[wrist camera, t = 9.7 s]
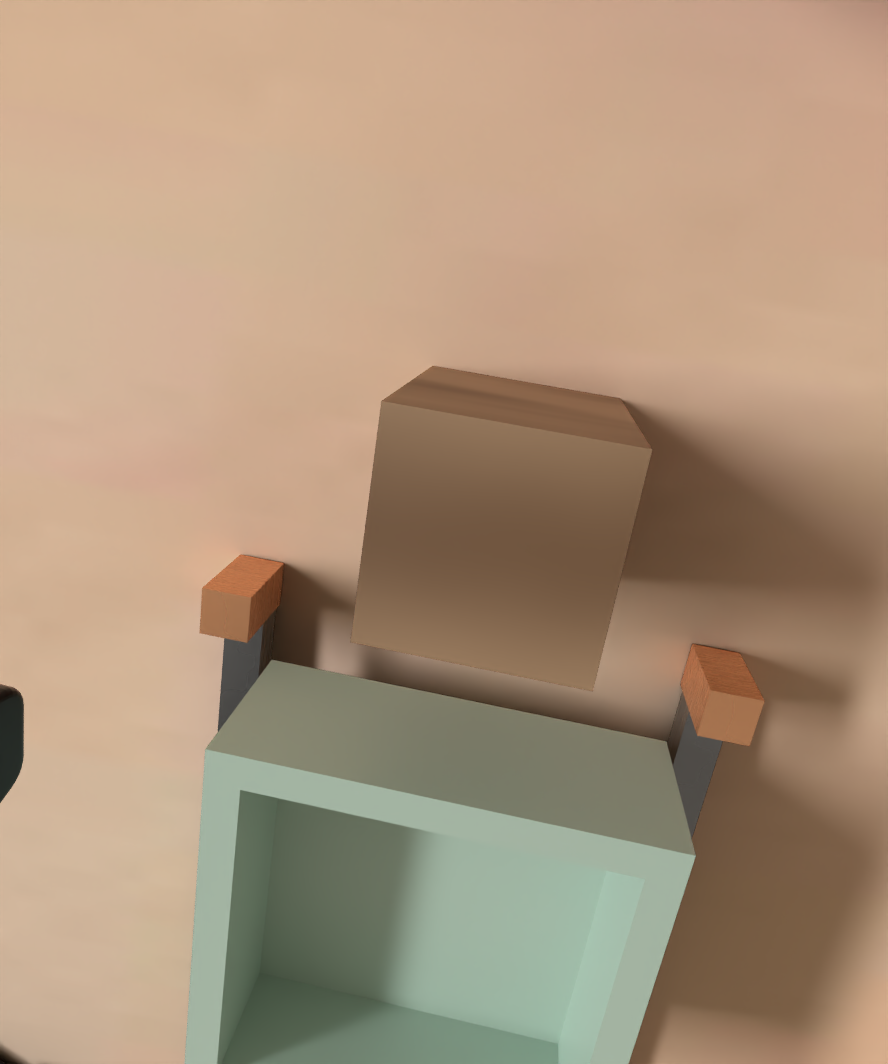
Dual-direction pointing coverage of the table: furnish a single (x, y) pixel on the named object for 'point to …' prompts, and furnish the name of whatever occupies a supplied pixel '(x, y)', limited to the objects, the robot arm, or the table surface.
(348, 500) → the table surface
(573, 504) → the walnut block
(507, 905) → the sage green storage bin
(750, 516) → the table surface
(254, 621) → the rails
